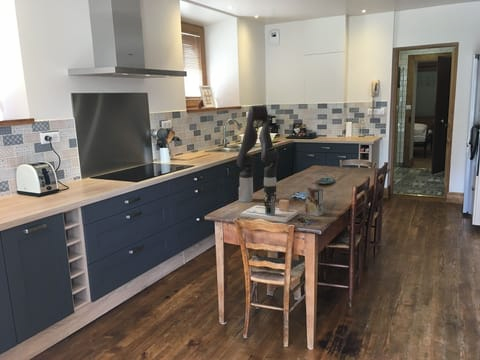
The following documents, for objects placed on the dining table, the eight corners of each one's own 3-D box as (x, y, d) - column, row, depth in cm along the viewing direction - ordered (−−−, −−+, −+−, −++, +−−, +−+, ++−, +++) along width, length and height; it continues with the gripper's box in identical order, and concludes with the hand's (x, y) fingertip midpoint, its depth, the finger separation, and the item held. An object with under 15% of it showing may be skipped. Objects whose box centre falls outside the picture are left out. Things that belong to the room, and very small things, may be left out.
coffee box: (323, 214, 255) (323, 188, 252) (318, 216, 250) (319, 190, 247) (309, 212, 260) (309, 187, 257) (305, 214, 255) (305, 189, 252)
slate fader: (265, 214, 248) (265, 204, 247) (267, 212, 251) (267, 203, 250) (272, 215, 246) (272, 205, 244) (275, 213, 249) (275, 204, 247)
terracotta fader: (279, 210, 256) (279, 200, 255) (281, 208, 259) (281, 199, 258) (286, 211, 254) (286, 201, 253) (288, 209, 257) (288, 200, 256)
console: (241, 215, 254) (240, 212, 254) (255, 208, 271) (255, 205, 271) (286, 222, 240) (286, 218, 239) (298, 213, 257) (298, 210, 256)
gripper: (269, 181, 252) (269, 208, 256) (259, 186, 240) (259, 214, 244) (280, 182, 249) (280, 210, 252) (270, 187, 237) (270, 216, 240)
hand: (270, 212), depth 248 cm, fingers closed on slate fader, 3 cm apart
